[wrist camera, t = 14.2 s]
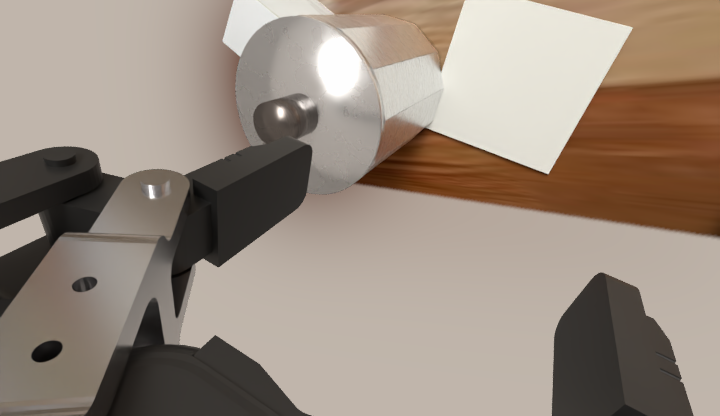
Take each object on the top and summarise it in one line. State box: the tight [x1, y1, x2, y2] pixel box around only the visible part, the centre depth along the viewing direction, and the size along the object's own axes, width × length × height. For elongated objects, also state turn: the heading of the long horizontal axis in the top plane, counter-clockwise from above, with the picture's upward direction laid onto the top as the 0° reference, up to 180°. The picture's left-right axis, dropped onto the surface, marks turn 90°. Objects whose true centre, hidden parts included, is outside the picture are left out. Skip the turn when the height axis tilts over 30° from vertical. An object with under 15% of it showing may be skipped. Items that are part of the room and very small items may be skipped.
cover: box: [235, 14, 444, 194], centre depth 41 cm, size 17×17×24 cm
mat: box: [425, 0, 633, 174], centre depth 43 cm, size 17×17×1 cm
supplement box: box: [223, 0, 335, 57], centre depth 47 cm, size 7×7×13 cm
